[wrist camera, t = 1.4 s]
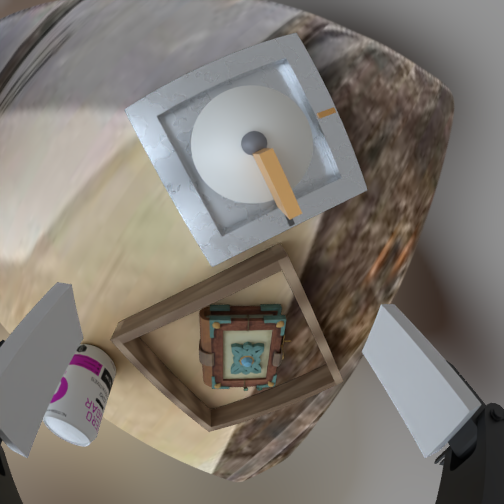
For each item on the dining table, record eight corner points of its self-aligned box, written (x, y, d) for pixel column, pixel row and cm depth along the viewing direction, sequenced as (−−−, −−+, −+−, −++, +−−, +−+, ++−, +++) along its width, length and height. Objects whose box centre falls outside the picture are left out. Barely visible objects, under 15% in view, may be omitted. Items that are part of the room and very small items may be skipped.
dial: (172, 120, 24) (158, 112, 18) (278, 72, 24) (295, 53, 17) (229, 226, 29) (231, 248, 23) (327, 178, 29) (355, 187, 22)
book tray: (118, 322, 34) (110, 340, 30) (280, 242, 32) (288, 255, 29) (208, 414, 43) (209, 431, 39) (335, 364, 42) (343, 381, 38)
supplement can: (65, 350, 35) (31, 417, 21) (91, 334, 34) (55, 409, 20) (97, 382, 38) (75, 449, 24) (127, 369, 37) (106, 446, 23)
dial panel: (128, 111, 25) (118, 108, 22) (291, 37, 23) (298, 27, 20) (211, 261, 32) (210, 273, 29) (359, 187, 31) (373, 192, 28)
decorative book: (203, 389, 41) (203, 412, 36) (198, 301, 34) (196, 324, 30) (282, 386, 43) (288, 408, 38) (299, 300, 36) (309, 322, 32)
